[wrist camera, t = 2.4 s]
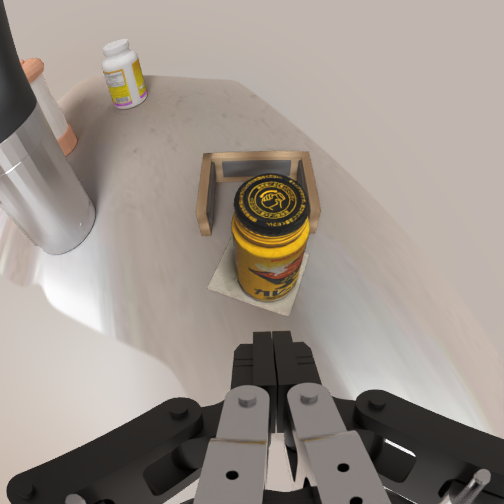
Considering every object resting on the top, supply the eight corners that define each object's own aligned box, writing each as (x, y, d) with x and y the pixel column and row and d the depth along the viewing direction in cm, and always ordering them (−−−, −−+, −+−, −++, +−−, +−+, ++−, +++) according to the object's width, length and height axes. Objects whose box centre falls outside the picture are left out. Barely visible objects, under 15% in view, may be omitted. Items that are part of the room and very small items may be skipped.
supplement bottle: (140, 89, 52) (127, 34, 41) (153, 99, 49) (139, 39, 38) (110, 103, 50) (93, 48, 39) (121, 115, 47) (102, 54, 36)
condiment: (288, 317, 29) (307, 253, 18) (207, 289, 30) (182, 215, 20) (309, 254, 32) (330, 173, 22) (234, 231, 34) (225, 147, 24)
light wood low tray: (201, 235, 34) (195, 213, 30) (207, 176, 38) (203, 153, 35) (314, 233, 34) (320, 210, 30) (305, 175, 38) (308, 151, 35)
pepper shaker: (83, 143, 44) (44, 48, 27) (50, 169, 41) (1, 77, 25) (68, 131, 46) (33, 47, 30) (38, 155, 44) (-5, 73, 27)
